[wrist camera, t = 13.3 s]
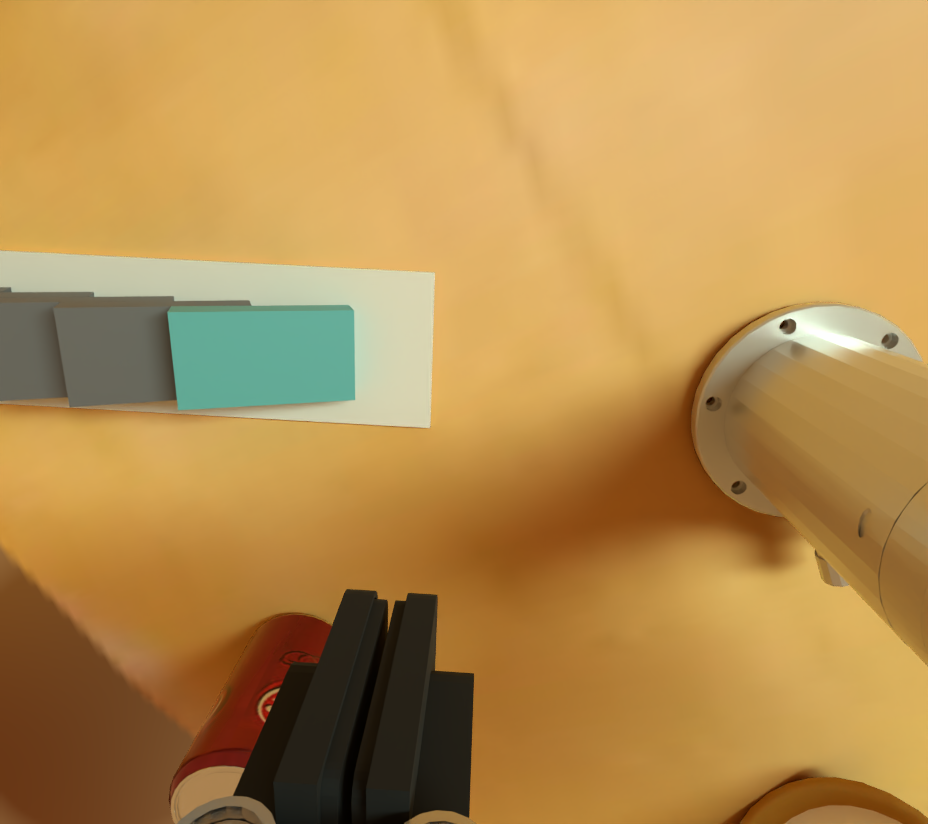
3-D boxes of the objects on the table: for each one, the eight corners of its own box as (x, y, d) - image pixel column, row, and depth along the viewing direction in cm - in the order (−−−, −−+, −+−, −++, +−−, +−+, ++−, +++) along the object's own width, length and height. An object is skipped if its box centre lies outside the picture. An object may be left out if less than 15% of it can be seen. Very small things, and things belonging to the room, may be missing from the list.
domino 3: (354, 310, 32) (167, 312, 30) (355, 400, 34) (178, 410, 31) (348, 304, 34) (171, 306, 31) (350, 390, 36) (181, 399, 33)
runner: (434, 272, 34) (434, 272, 33) (430, 426, 36) (429, 428, 36) (-99, 245, 34) (-104, 245, 34) (-63, 398, 37) (-67, 400, 37)
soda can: (336, 598, 41) (276, 750, 29) (369, 684, 43) (326, 857, 31) (235, 620, 42) (139, 775, 30) (273, 703, 44) (196, 878, 32)
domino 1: (172, 301, 33) (-34, 303, 30) (181, 390, 34) (-13, 401, 31) (173, 296, 34) (-22, 297, 31) (182, 381, 36) (-2, 391, 33)
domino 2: (251, 305, 33) (53, 308, 29) (257, 394, 34) (69, 407, 31) (248, 300, 34) (60, 302, 31) (254, 386, 36) (75, 397, 32)
